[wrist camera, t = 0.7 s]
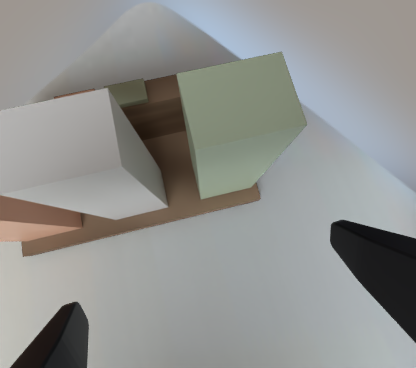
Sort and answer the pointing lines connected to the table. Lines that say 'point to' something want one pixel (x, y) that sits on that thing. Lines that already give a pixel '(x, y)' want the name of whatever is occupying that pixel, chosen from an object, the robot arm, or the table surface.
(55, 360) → the robot arm
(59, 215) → the salmon brown block
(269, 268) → the table surface
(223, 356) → the table surface
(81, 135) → the light grey tall block
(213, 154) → the sage key
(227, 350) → the table surface
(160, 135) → the keypad base
